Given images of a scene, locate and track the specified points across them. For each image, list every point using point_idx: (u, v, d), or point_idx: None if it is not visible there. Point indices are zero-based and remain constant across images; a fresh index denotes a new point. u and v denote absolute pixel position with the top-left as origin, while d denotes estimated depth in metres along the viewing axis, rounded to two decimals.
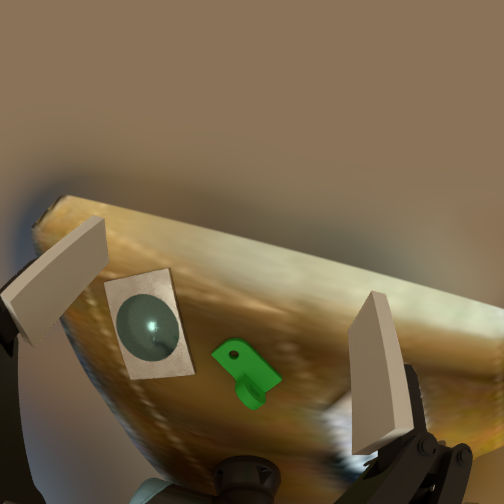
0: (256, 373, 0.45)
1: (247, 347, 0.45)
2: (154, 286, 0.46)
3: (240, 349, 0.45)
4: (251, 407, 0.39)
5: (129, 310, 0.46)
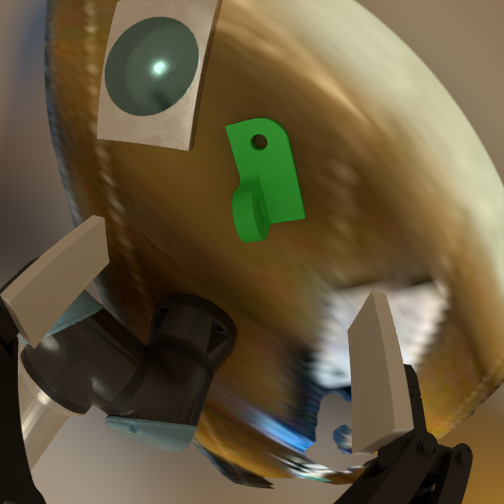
0: (275, 187, 0.29)
1: (285, 141, 0.26)
2: (187, 9, 0.20)
3: (273, 139, 0.26)
4: (242, 236, 0.26)
5: (135, 36, 0.22)
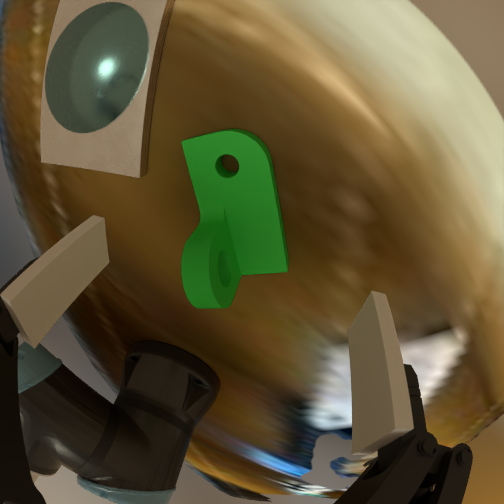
0: (249, 230, 0.21)
1: (265, 166, 0.19)
2: None
3: (248, 163, 0.19)
4: (196, 304, 0.18)
5: (76, 32, 0.14)
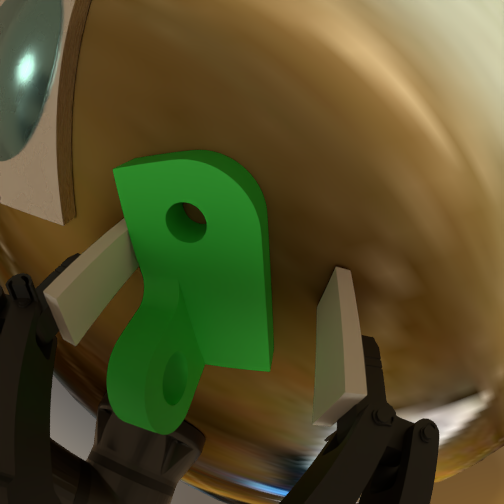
0: (217, 320, 0.13)
1: (254, 234, 0.10)
2: None
3: (223, 224, 0.10)
4: None
5: None
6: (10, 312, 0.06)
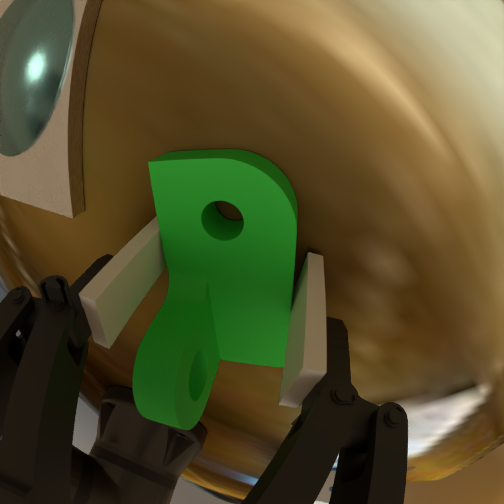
0: (241, 316, 0.14)
1: (290, 236, 0.11)
2: None
3: (260, 224, 0.11)
4: None
5: (5, 26, 0.06)
6: (41, 314, 0.07)
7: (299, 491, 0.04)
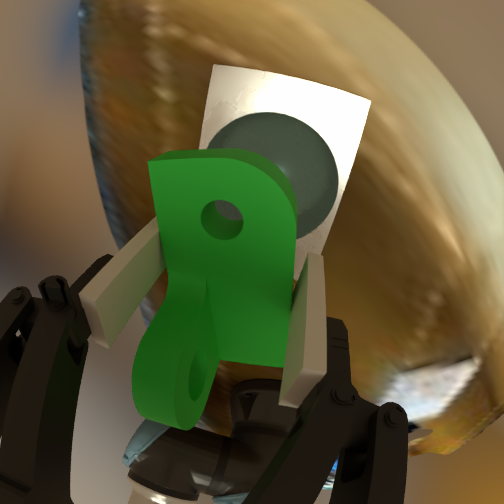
0: (240, 316, 0.14)
1: (289, 235, 0.11)
2: (327, 116, 0.20)
3: (260, 224, 0.11)
4: None
5: (249, 135, 0.23)
6: (41, 314, 0.07)
7: (299, 491, 0.04)
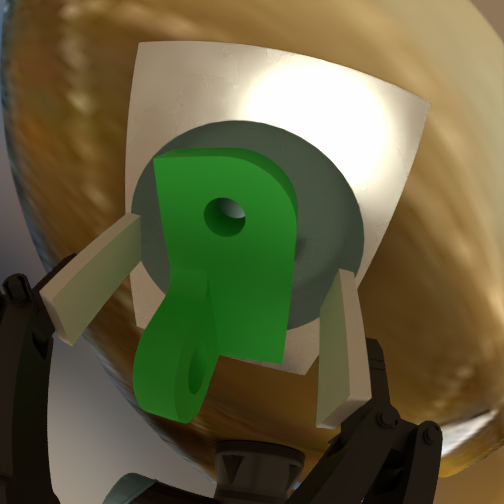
0: (240, 312, 0.14)
1: (290, 233, 0.11)
2: (351, 129, 0.10)
3: (261, 221, 0.11)
4: None
5: None
6: (7, 312, 0.06)
7: None
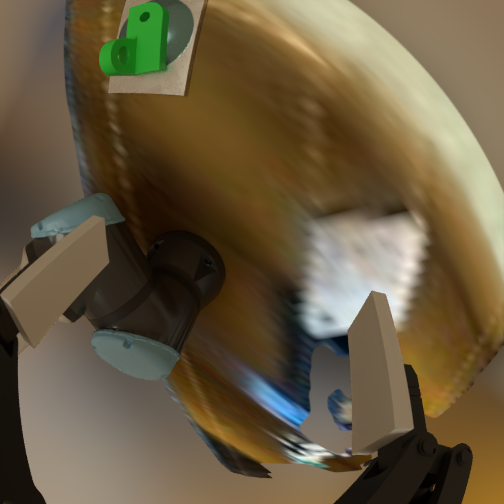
0: (145, 46, 0.27)
1: (161, 15, 0.24)
2: None
3: (154, 14, 0.24)
4: (101, 64, 0.24)
5: None
6: None
7: None
